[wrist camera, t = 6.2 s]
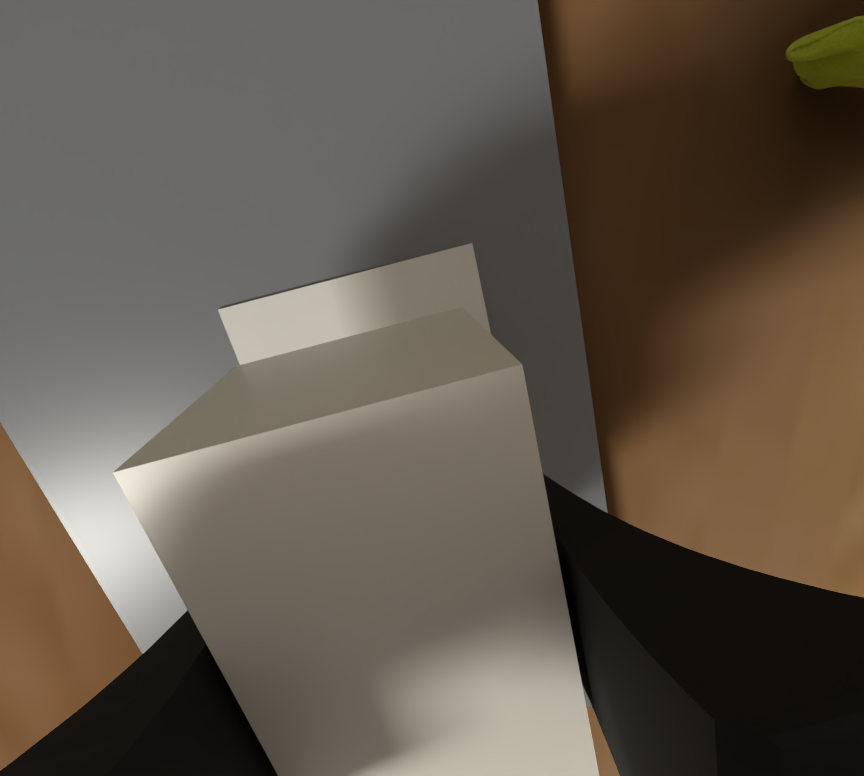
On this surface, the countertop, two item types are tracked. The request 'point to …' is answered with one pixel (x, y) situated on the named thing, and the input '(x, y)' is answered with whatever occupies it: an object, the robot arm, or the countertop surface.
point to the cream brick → (375, 556)
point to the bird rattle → (831, 55)
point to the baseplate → (263, 224)
